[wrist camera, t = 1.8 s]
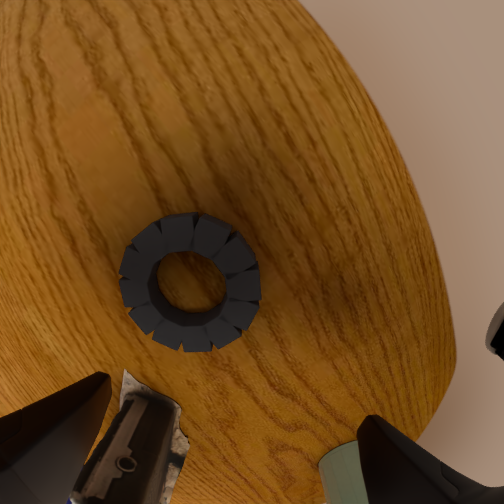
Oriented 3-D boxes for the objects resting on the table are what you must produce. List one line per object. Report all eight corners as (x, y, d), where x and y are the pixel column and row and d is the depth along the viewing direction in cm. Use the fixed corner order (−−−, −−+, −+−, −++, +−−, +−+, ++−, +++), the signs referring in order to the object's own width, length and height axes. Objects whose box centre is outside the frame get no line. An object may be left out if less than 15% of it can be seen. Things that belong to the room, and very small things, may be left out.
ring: (156, 191, 17) (146, 192, 15) (282, 248, 18) (286, 256, 16) (117, 305, 19) (106, 317, 17) (226, 354, 20) (225, 370, 18)
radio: (124, 368, 20) (50, 514, 5) (221, 404, 21) (210, 567, 6) (110, 473, 25) (83, 551, 10) (168, 494, 26) (154, 576, 11)
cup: (344, 436, 23) (367, 503, 14) (390, 440, 24) (416, 495, 15) (306, 471, 24) (318, 531, 16) (352, 473, 25) (369, 525, 17)
